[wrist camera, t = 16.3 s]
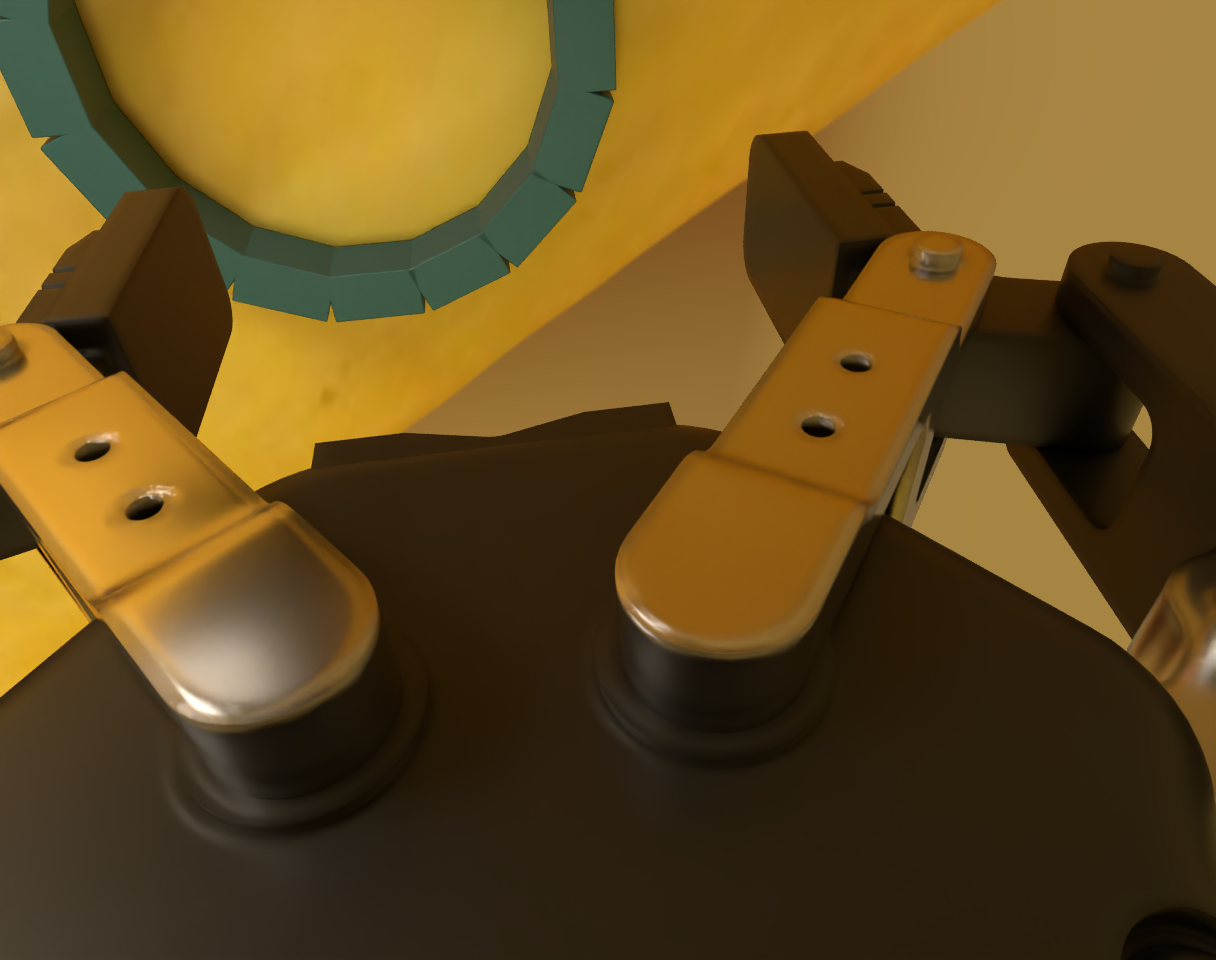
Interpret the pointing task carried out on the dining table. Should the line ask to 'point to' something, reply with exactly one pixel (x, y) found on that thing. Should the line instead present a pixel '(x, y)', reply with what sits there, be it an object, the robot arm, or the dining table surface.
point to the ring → (298, 268)
